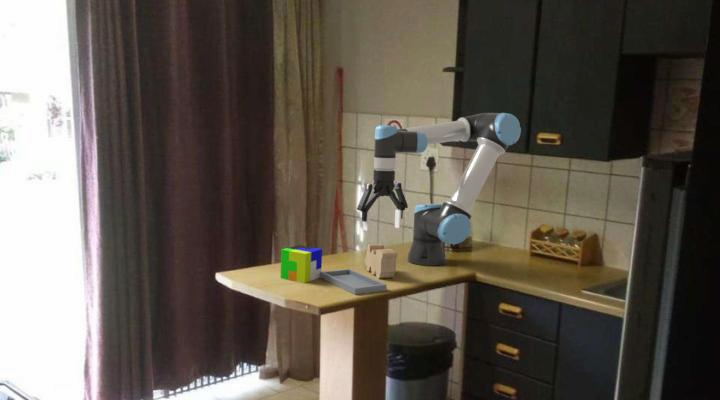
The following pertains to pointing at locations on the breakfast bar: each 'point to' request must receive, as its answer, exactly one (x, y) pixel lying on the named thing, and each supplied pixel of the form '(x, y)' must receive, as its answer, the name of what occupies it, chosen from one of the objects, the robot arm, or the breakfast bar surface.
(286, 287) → the breakfast bar surface
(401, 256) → the breakfast bar surface
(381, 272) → the toy train
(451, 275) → the breakfast bar surface
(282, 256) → the puzzle toy
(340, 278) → the tray
